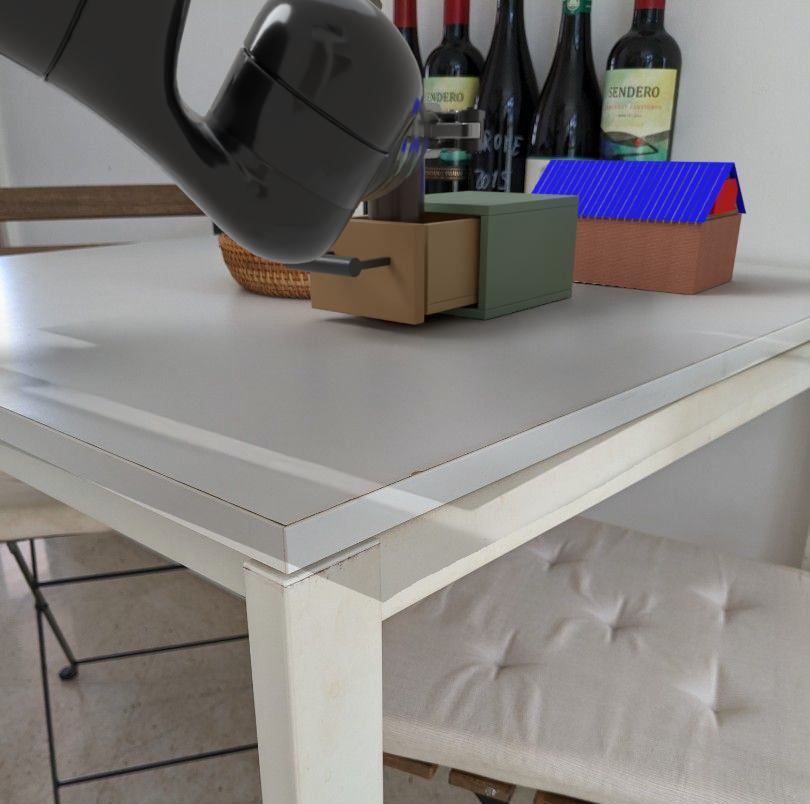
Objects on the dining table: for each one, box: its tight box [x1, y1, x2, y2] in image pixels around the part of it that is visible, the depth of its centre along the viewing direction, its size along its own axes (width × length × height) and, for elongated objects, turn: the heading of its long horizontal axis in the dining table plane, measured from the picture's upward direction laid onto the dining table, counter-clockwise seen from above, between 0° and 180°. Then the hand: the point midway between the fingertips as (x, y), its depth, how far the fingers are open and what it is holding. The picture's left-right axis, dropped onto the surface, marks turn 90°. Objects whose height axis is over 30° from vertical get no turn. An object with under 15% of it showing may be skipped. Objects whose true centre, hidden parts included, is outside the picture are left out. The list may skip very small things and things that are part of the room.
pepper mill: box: [367, 159, 426, 224], centre depth 69 cm, size 5×5×14 cm
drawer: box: [283, 212, 482, 325], centre depth 71 cm, size 18×11×7 cm, turn 140°
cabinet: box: [425, 190, 579, 321], centre depth 79 cm, size 15×13×9 cm
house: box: [530, 159, 747, 295], centre depth 90 cm, size 12×20×12 cm, turn 52°
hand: (390, 131), depth 65 cm, fingers open, 8 cm apart
